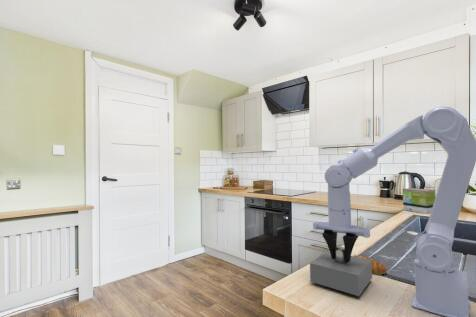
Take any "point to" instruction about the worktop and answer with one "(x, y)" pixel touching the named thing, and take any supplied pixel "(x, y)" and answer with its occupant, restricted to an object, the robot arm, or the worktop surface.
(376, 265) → the pastry
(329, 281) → the cover
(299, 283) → the worktop surface
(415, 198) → the tea box
